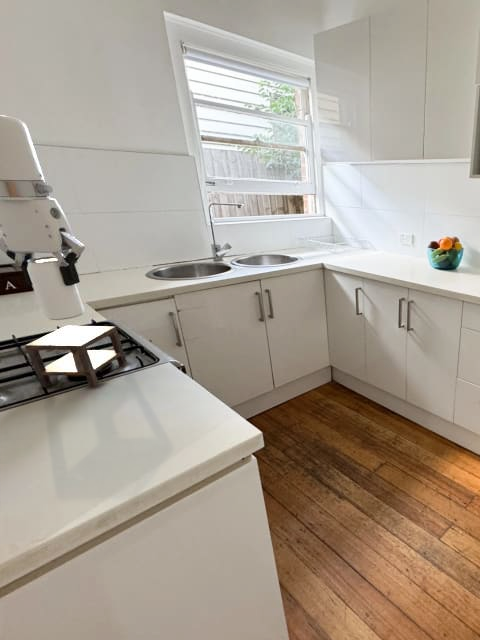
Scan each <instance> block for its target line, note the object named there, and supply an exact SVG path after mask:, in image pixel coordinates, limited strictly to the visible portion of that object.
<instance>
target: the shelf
mask: <svg viewBox="0 0 480 640" xmlns="http://www.w3.org/2000/svg"><path fill="white" fill-rule="evenodd" d="M107 336H108V337H109V338H110V342H111V344H112V345H111V346H112V348H113V349H112V350H111V349H109V350H107V349H105V350H103V349H100V350H97V349H92V350H91V349H90V350H89V349H88V347H91V346H92V345H93V344H96V343H97V342H99V341H101V340H103V339H104V338H106V337H107ZM24 347H25V350H26V353H27V355H28V357H29V359H30V362H31V364H32V367H33V369H34V371H35V374H36V376H37V379H38V381H39V384H40V386H41V388H49V387H51V386H53V383H52V381H51V379H50V376H85V378H86V380H87V383H88V386H89V388H97V387H98V386H99V385H100V383H99V380H98V378H97V375H96V373H97V372H98V371H100V370H101V369H103V368H105V367H106V366H107V365H109V364H111V363H113V362H114V361H115V360H117V363H118V366H119V368H120V367H121V368H123V367H126V366H128V361H127V358H126V356H125V351H124V349H123V345H122V342H121V340H120V335H119V333H118V328H117V326H115V325H113V326H108V325H102V326H101V325H65V326H64V327H61V328H59V329H56V330H55V331H52V332H50V333H48V334H46V335H44V336H42V337H39V338H37V339H36V340H33V341H31V342H28V343H27V344H25V345H24ZM40 350H41V351H45V350H46V351H69V350H70V352H69V353H68V354H65V355H63V356H62V357H60V358H58V359H57V360H55V361H53V362H51V363H50V364H48V365H46V366H45V364H44V361H43V358H42V356H41V353H40Z"/></svg>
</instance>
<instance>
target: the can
mask: <svg viewBox="0 0 480 640" xmlns="http://www.w3.org/2000/svg"><path fill="white" fill-rule="evenodd" d="M27 262H28V267H27V270H28V273H29V276H30V279H31V281H32V284H33V285H32V286H33V289H34V292H35V295H36V297H37V299H38V303H39V305H40V307H41V310H42V312H43V315H44V317H45V319H48V320H50V321H61V320H63V321H64V320H69V319H74V318H77V317H80V316H82V315H83V314H84V312H85V307H84V304H83V301H82V298H81V294H80V292H79V288H78V286H77V284H74V285H71V286H66V285H65V284H64V281H63V278H62V275H61V272H60V269H59V267H60V266H62V265H61V264H60V262H59V261H58V260H57V259H56V258H55V256H54V255H53V256H40V257H34V258H33V259H29V260H27Z"/></svg>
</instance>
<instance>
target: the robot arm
mask: <svg viewBox="0 0 480 640" xmlns="http://www.w3.org/2000/svg"><path fill="white" fill-rule="evenodd" d="M51 193H53V187H52V185H49V184H47V183H46V181H45V176H44V174H43V171H42V167H41V164H40V162H39V159H38V156H37V153H36V150H35V146H34V144H33V140H32V137H31V135H30V132H29V129H28V127H27V125H26V123H25V122H23V120H21V119H20V118H17V117H14V116H9V115H3V114H2V115H1V114H0V233H1V237H0V251H2V252H3V253H4V254H6V256H7V257H8V258H10V259H11V260H13V261H14V264H15V265H16V266H17V267H18V266H19V267H20V269H21V271H22V274H23V276H24V279H25V281H26V284H27V285H28V286H33V284H32V281H31V279H30V276H29V273H28V270H27V267H28V262H27V260H29V259H33V258H35V254H36V253H37V254H38V253H39V254H41V253H42V254H51V255H53V257H54V256H55V258H56V259H57V260H58V261H59V262H60V264H61V265H62V266H60V267H59V269H60V272H61V275H62V278H63V281H64V284H65V285H66V286H71V285H74V284H76V285H77V284H79V283H80V282H81V281H80V280H81V279H80V276H79V272H78V271H77V267H76V264H78V260H79V259H80V258H81V255H82V254H83V252H84V250H85V249H86V246H85V244H83V243H82V242H80V241H79V240H77V238H75V236H74V233H73V231H72V228H71V226H70V224H69V221H68V219H67V217H66V214H65V212H64V211H63V209H62V207H61V205H60V204H59V202H58V200H56V198H51V196H50V194H51Z"/></svg>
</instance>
